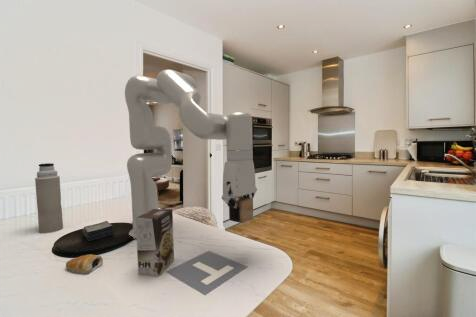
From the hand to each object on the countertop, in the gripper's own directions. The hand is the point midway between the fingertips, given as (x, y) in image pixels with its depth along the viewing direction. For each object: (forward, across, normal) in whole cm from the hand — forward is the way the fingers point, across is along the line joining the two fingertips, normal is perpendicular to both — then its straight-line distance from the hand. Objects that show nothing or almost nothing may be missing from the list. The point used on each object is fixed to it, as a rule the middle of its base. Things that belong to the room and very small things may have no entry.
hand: (241, 217), depth 70 cm
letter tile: (+13, +10, -4) cm, 17 cm away
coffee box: (+13, +18, -16) cm, 28 cm away
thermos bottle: (+13, +29, -80) cm, 86 cm away
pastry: (+13, +31, -33) cm, 47 cm away
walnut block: (0, 0, 0) cm, 0 cm away
